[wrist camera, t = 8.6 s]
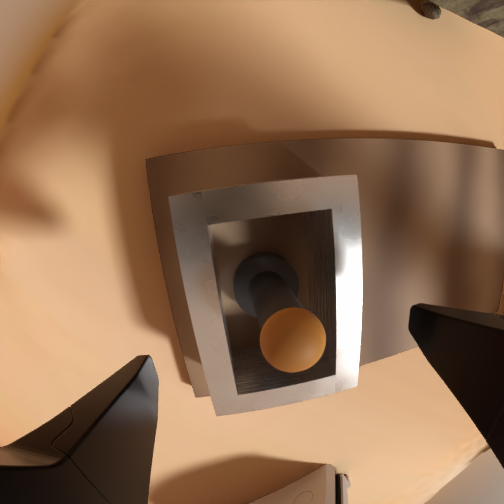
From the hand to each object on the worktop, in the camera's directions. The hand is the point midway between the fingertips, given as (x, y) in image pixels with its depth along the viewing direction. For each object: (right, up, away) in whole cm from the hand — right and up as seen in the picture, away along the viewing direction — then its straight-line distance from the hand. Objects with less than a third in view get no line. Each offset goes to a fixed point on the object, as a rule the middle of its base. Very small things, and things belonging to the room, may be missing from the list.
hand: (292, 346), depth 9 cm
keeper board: (+7, +3, +8) cm, 11 cm away
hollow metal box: (-1, +1, +6) cm, 7 cm away
